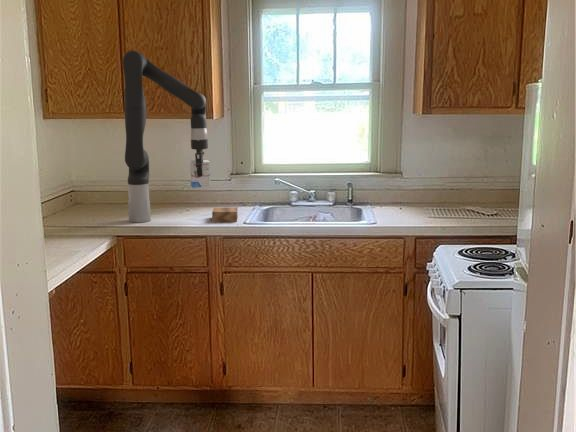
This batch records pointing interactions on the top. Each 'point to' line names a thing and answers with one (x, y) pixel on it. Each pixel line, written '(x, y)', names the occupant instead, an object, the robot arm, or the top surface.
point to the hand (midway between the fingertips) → (200, 175)
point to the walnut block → (225, 214)
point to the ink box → (205, 178)
